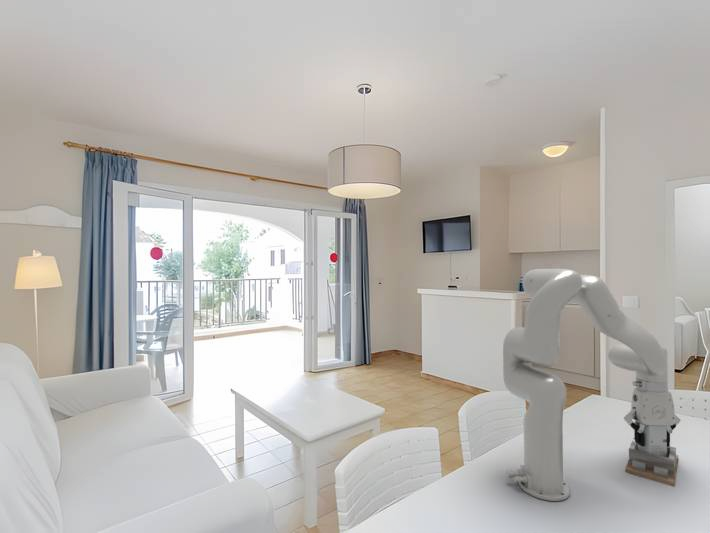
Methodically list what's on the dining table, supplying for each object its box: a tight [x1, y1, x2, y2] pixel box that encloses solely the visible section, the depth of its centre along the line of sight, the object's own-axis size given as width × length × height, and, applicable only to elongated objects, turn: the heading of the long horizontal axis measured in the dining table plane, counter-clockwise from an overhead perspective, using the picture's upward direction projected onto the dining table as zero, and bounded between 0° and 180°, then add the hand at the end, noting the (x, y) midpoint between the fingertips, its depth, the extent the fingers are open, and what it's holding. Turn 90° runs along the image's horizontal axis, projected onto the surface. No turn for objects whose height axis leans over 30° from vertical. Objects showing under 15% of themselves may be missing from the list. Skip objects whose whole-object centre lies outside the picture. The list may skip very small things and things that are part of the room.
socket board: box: [624, 437, 679, 487], centre depth 114 cm, size 20×11×5 cm, turn 137°
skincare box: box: [638, 424, 667, 457], centre depth 114 cm, size 6×4×12 cm
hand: (652, 444), depth 114 cm, fingers closed on skincare box, 6 cm apart
